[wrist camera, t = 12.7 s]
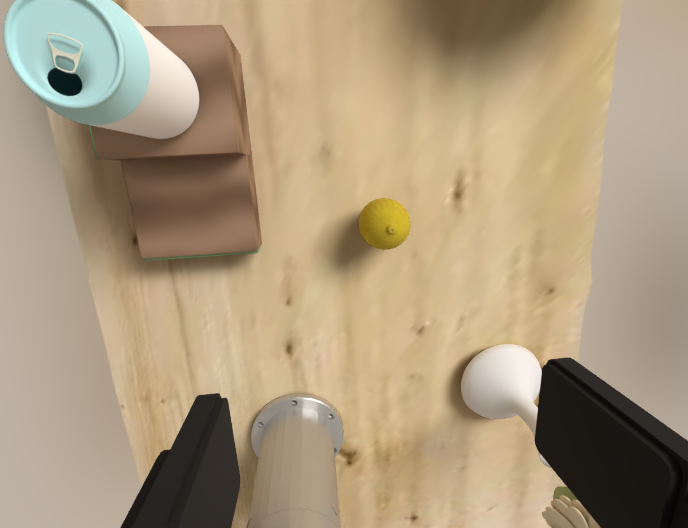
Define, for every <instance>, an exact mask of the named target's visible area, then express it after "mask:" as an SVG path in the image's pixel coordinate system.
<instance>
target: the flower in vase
mask: <svg viewBox="0 0 688 528" xmlns="http://www.w3.org/2000/svg"><path fill="white" fill-rule="evenodd" d="M541 375H542V371H541V368H540V365H539V363H538V361H537V359H536V357H535V356H534V355H533V354H532V353H531V352H530V351H529V350H527V349H526V348H524V347H521V346H519V345H514V344H502V345H496V346H492V347H490V348H487V349H485V350H483V351H482V352H480V353H479V354H477V355H476V356H475V357H474V358H473V359H472V360H471V361H470V363H469V364H468V366H467V367H466V369H465V371H464V374H463V377H462V381H461V393H462V397H463V400H464V402H465V403H466V405H467V406H468V407H469V408H470V409H471V410H472V411H474V412H475V413H477V414H479V415H481V416H483V417H486V418H490V419H505V418H510V417H513V416H516V415H519V416H520V417H521V418H522V419H523V420H524V421H525V423H526V424H527V425H528V426H529V428H530V429H531V431H532V432H533V434H534V436H535V431H536V421H537V412H538V408H537V407H536V406H535V404H534V403H533V402H534V401H535V399H536V398H537V396H538V393H539V391H540V385H541ZM539 457H540V460H541V462H542V463H543V464H544V465H546V466H547V467H550V468H551V466H550V465H549V464H548V463H547V461H546V460H545V459H544V458H543V457H542V455H541V454H540V453H539ZM551 505H552V507H553V508H554V509H553V508H551V507H546V511H544V512H542V515H543V517H544V519H545V520H546V522H547V523H548V525H549V526H551V527H552V528H601V527H600V526H599V525H598V524H597V523H596V521H595V520H594V519H593V518H592V516H591V515H590V514H589V513H588V512H587V510H586V509H585V508H584V507H583V505H582V504H581V503H580V502H579V501H578V499H577V498H576V497H575V496H574V494H573V493H572V492H571V491H570V490H569V488H568V487H557V488H556V489H555V491H554V496H553V501H551Z"/></svg>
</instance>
